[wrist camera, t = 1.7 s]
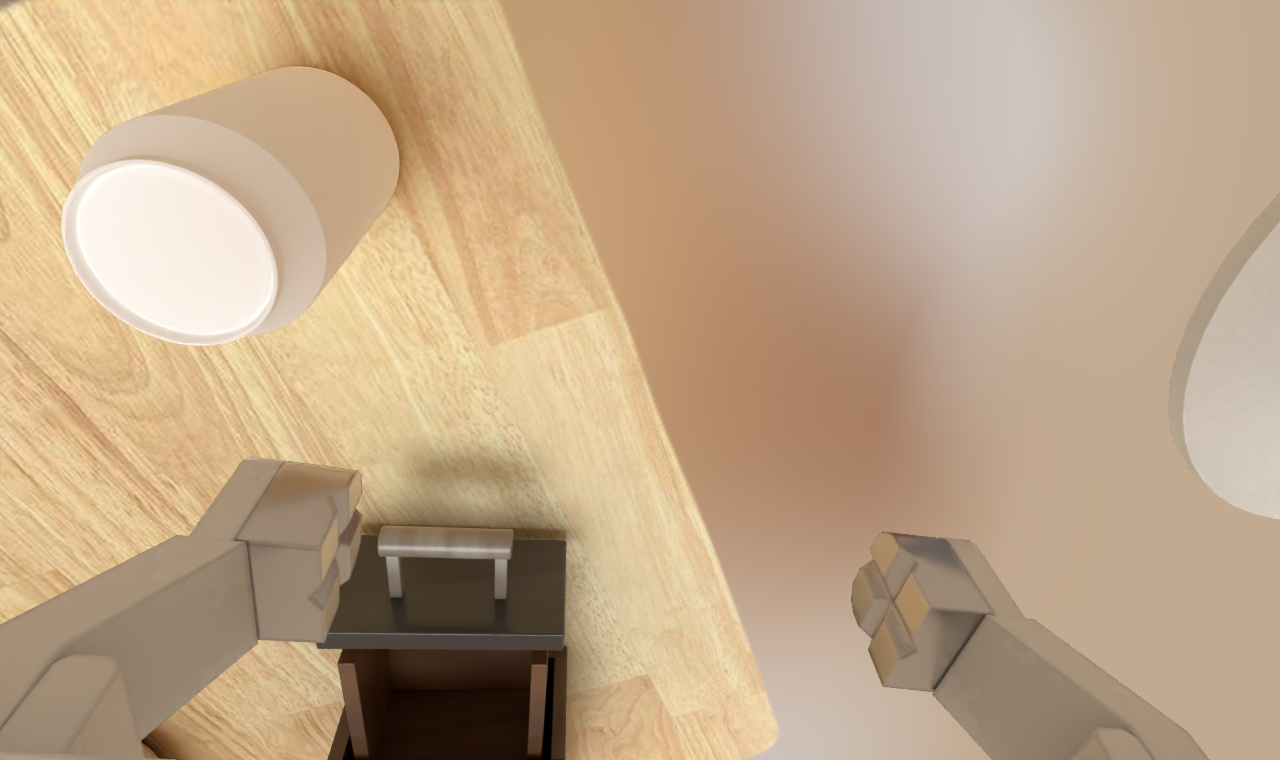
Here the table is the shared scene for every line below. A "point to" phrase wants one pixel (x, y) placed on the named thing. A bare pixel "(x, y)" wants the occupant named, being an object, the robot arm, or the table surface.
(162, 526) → the table surface
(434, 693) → the drawer
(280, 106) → the beverage can
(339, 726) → the cabinet
